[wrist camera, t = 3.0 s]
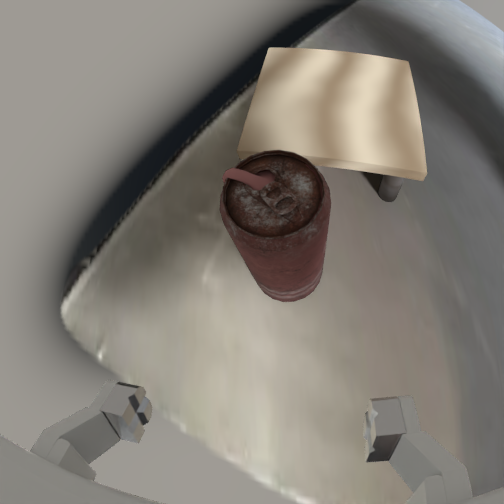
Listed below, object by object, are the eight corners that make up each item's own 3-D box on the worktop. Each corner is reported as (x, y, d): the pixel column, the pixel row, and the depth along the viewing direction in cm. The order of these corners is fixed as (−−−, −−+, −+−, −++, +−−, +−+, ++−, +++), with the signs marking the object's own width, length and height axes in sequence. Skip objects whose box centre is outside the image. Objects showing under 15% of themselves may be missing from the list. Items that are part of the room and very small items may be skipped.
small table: (398, 104, 34) (408, 61, 28) (406, 213, 29) (427, 173, 23) (275, 91, 38) (268, 47, 31) (250, 193, 33) (236, 150, 26)
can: (265, 231, 31) (234, 135, 18) (329, 249, 29) (342, 156, 17) (243, 290, 29) (192, 225, 16) (310, 311, 28) (313, 258, 15)
